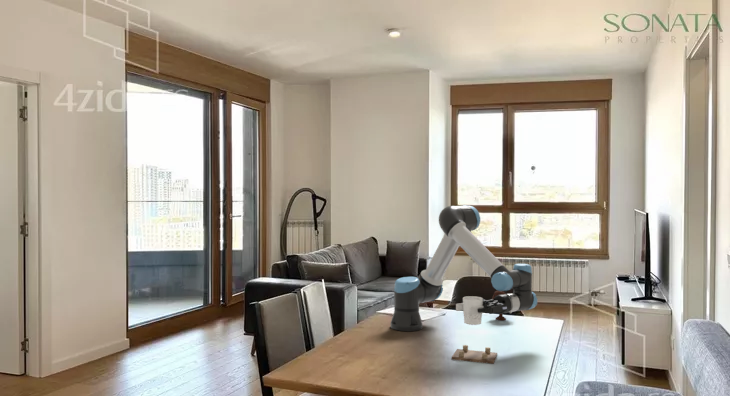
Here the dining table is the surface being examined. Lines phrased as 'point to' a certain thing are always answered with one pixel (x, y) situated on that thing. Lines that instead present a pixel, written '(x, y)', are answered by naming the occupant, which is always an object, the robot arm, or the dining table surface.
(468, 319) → the white cup
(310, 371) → the dining table surface
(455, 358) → the holder
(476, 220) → the robot arm
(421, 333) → the dining table surface
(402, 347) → the dining table surface
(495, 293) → the ice cream bowl
